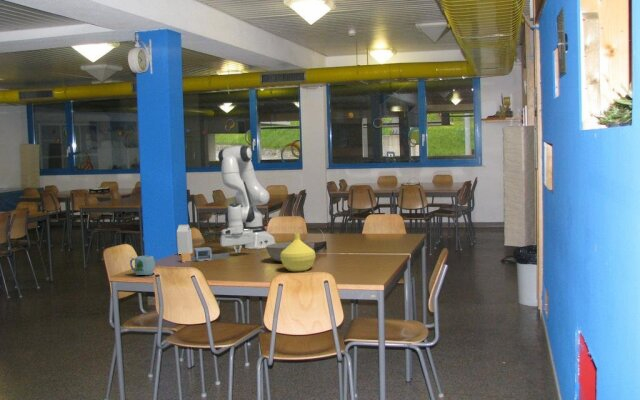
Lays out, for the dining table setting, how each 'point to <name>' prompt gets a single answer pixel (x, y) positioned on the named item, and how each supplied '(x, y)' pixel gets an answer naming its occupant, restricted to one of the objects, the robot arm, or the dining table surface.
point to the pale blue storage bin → (202, 253)
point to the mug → (143, 265)
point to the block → (186, 257)
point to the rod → (214, 256)
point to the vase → (297, 255)
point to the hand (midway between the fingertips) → (237, 252)
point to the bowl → (281, 249)
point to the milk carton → (184, 239)
